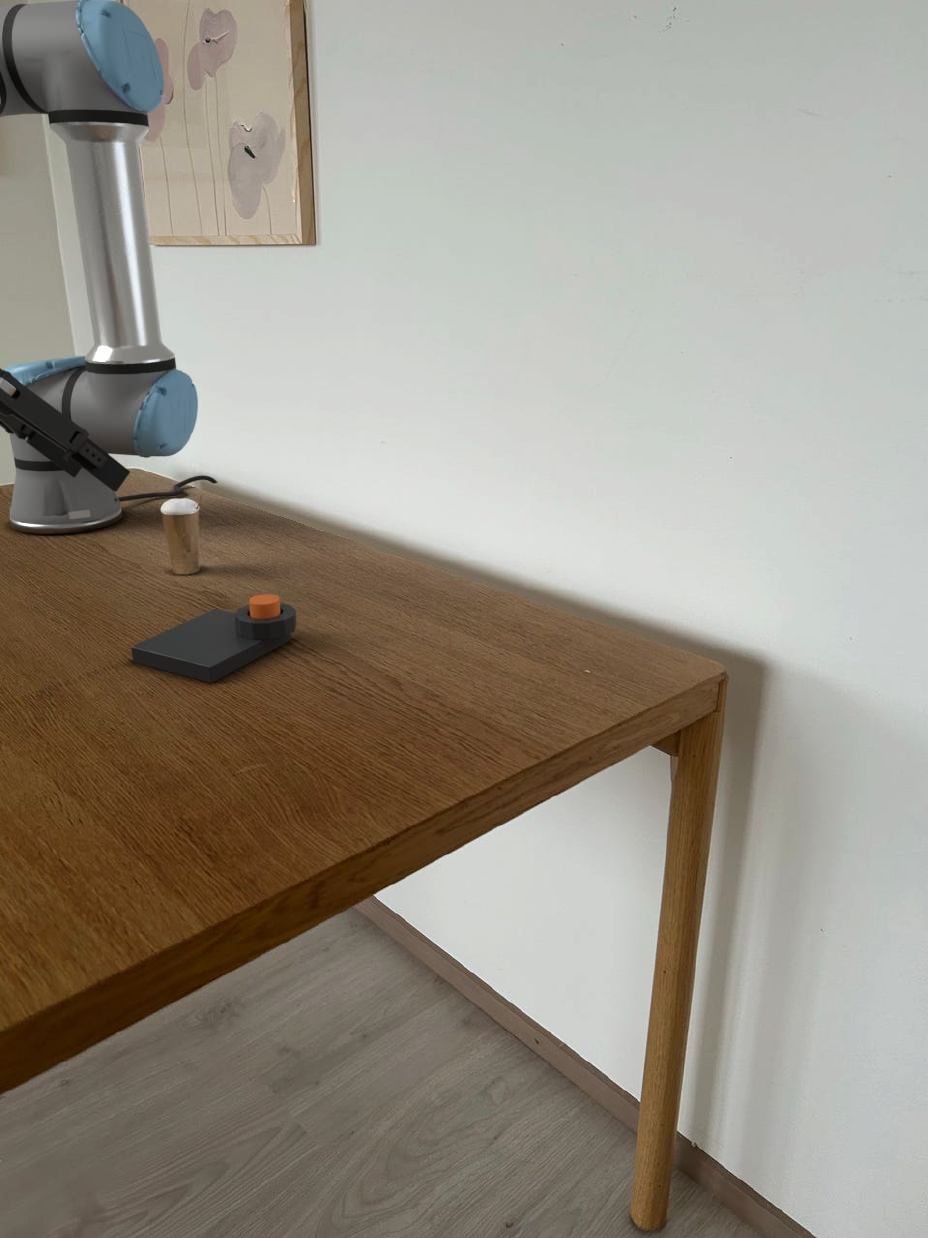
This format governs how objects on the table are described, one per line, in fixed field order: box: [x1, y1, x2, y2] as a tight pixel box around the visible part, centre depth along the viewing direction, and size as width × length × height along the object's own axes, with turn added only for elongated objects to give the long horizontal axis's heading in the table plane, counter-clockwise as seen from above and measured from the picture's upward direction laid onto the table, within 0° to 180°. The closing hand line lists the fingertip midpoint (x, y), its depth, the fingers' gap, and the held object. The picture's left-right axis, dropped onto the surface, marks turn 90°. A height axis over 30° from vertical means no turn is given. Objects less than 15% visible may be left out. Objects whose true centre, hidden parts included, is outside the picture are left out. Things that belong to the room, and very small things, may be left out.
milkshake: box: [160, 493, 204, 576], centre depth 117 cm, size 4×5×10 cm
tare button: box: [248, 593, 281, 619], centre depth 96 cm, size 3×3×2 cm
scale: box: [130, 602, 298, 684], centre depth 95 cm, size 13×12×4 cm
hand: (100, 474), depth 107 cm, fingers open, 9 cm apart
